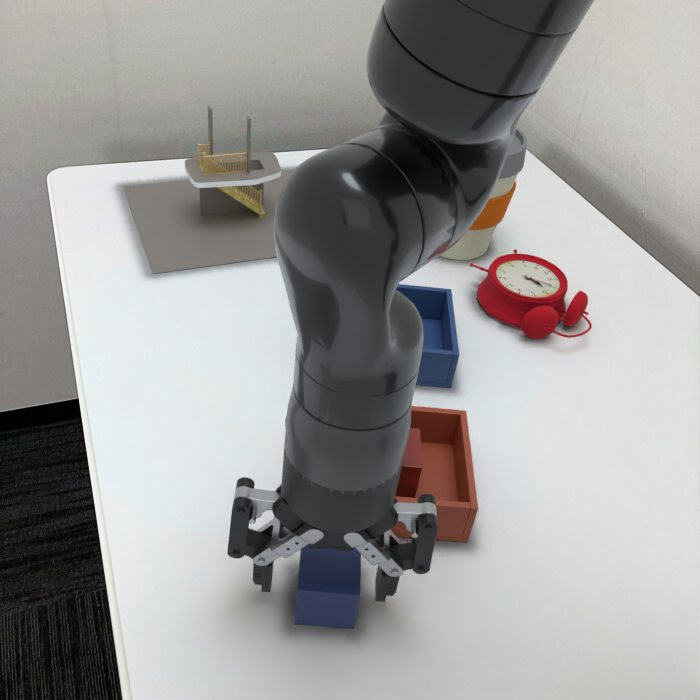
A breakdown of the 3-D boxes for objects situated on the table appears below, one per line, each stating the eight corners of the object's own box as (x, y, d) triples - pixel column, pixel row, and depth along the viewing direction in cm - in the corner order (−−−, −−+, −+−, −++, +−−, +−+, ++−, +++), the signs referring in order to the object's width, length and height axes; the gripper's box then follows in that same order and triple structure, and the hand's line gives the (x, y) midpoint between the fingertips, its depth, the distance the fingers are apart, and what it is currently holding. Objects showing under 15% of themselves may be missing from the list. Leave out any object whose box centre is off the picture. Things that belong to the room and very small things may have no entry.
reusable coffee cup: (401, 258, 97) (419, 147, 87) (411, 209, 106) (428, 104, 97) (501, 275, 96) (530, 165, 86) (501, 224, 106) (528, 120, 96)
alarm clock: (522, 240, 96) (621, 280, 85) (518, 286, 99) (613, 330, 88) (458, 261, 91) (554, 305, 80) (456, 308, 94) (548, 358, 83)
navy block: (355, 576, 61) (361, 542, 58) (354, 628, 58) (360, 595, 55) (298, 572, 61) (301, 537, 58) (293, 624, 58) (297, 590, 55)
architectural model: (352, 246, 98) (364, 142, 89) (153, 273, 89) (143, 161, 80) (299, 168, 112) (304, 72, 103) (122, 186, 104) (112, 83, 95)
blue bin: (444, 320, 88) (451, 288, 85) (451, 388, 79) (459, 354, 76) (328, 309, 87) (331, 277, 84) (323, 376, 79) (326, 342, 76)
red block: (412, 462, 70) (420, 428, 67) (414, 502, 67) (422, 467, 64) (363, 458, 70) (368, 424, 67) (362, 497, 67) (368, 463, 64)
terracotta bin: (457, 444, 73) (466, 410, 70) (467, 542, 65) (478, 508, 62) (318, 431, 73) (322, 397, 70) (310, 529, 64) (314, 494, 61)
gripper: (221, 476, 45) (221, 624, 55) (464, 498, 45) (419, 640, 56) (238, 388, 50) (236, 537, 61) (454, 408, 51) (415, 552, 62)
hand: (324, 586), depth 58 cm, fingers open, 8 cm apart
